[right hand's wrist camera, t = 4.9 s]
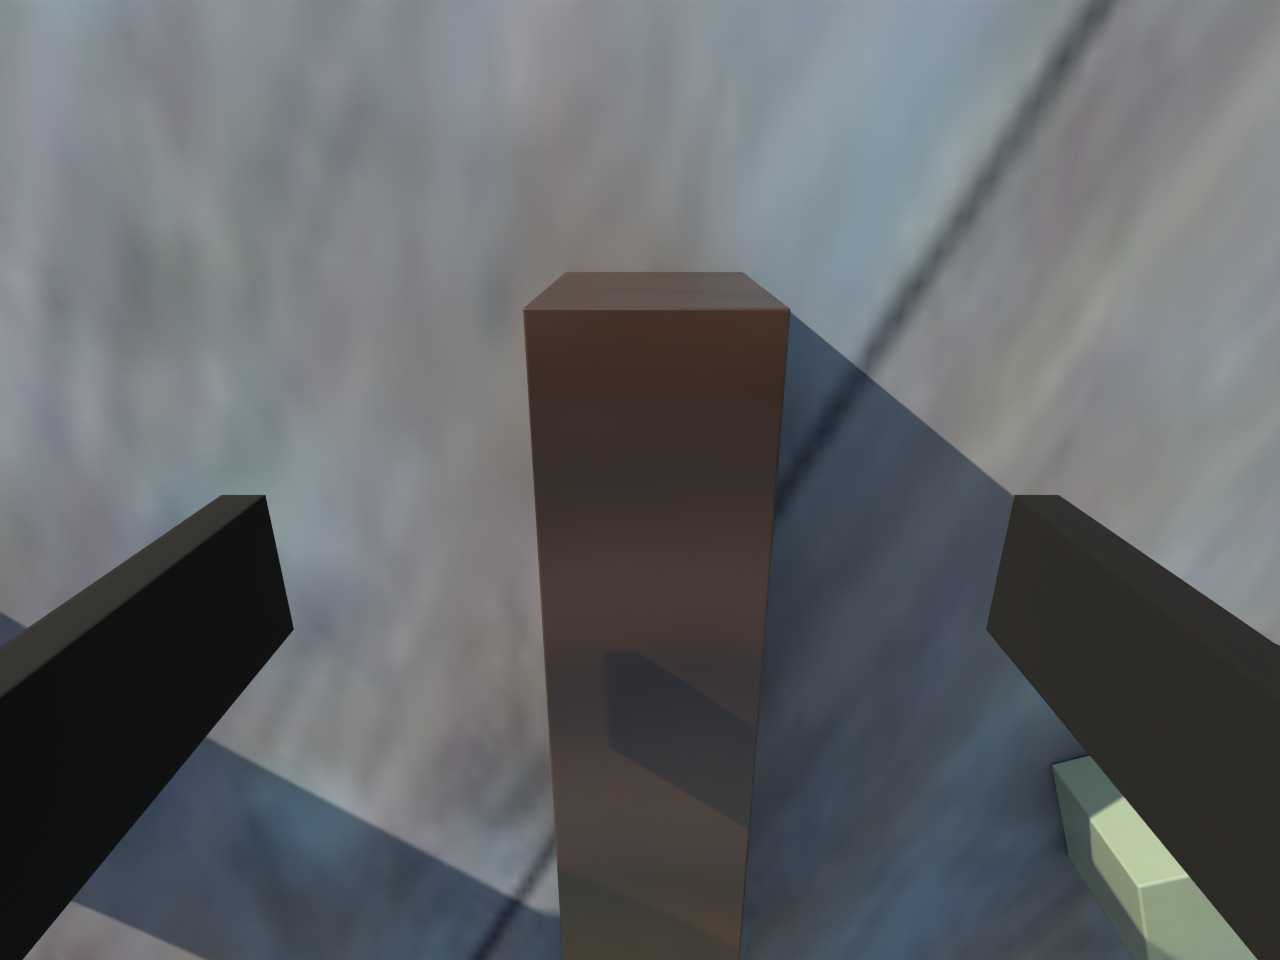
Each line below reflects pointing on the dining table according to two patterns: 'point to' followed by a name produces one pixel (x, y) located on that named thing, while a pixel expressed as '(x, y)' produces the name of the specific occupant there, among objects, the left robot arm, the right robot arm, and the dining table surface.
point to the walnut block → (654, 595)
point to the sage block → (1137, 874)
